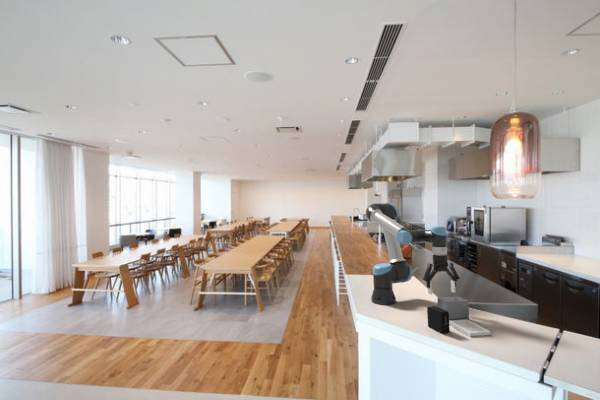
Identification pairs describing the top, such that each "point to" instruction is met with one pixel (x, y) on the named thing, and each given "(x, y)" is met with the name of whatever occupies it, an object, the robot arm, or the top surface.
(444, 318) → the electronic device
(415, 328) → the top surface
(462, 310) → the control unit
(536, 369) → the top surface
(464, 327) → the tray
